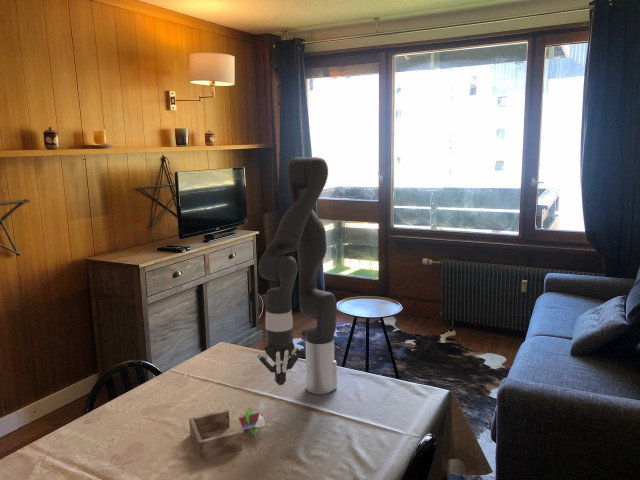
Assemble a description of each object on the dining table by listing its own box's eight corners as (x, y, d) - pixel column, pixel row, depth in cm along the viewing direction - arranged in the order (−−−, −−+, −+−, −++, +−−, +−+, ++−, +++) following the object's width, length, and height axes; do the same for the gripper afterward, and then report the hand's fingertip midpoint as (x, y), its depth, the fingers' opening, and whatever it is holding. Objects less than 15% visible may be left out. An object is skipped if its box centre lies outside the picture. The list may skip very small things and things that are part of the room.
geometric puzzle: (229, 430, 142) (245, 410, 140) (238, 416, 149) (253, 398, 147) (249, 446, 142) (265, 427, 140) (258, 432, 149) (273, 414, 146)
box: (228, 425, 149) (228, 409, 148) (241, 449, 137) (240, 432, 136) (190, 434, 144) (189, 418, 143) (200, 460, 133) (198, 443, 132)
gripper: (296, 318, 149) (297, 374, 152) (252, 324, 143) (253, 382, 147) (306, 326, 142) (307, 384, 145) (260, 333, 137) (262, 394, 140)
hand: (280, 383), depth 146 cm, fingers closed
